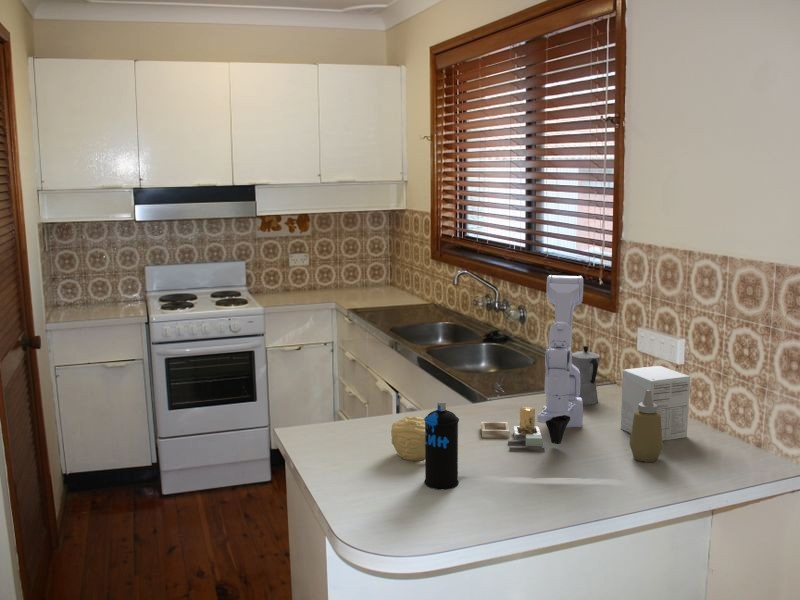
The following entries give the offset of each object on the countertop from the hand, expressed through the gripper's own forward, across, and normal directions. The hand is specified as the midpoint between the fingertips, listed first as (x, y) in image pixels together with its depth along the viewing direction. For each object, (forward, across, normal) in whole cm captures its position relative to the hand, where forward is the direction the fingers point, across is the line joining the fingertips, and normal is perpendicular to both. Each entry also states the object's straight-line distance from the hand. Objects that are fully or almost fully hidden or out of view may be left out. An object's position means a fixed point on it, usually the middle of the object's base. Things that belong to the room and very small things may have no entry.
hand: (556, 442), depth 206 cm
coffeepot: (+3, -44, -19) cm, 48 cm away
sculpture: (+3, +28, -24) cm, 37 cm away
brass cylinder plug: (+1, -1, -10) cm, 11 cm away
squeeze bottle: (+3, -12, +19) cm, 23 cm away
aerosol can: (+3, +36, -8) cm, 37 cm away
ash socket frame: (+1, +2, -19) cm, 19 cm away
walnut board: (+2, +3, -12) cm, 13 cm away
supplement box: (+3, -31, +11) cm, 33 cm away
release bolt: (+1, +4, -4) cm, 6 cm away
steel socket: (+1, -1, -10) cm, 11 cm away
